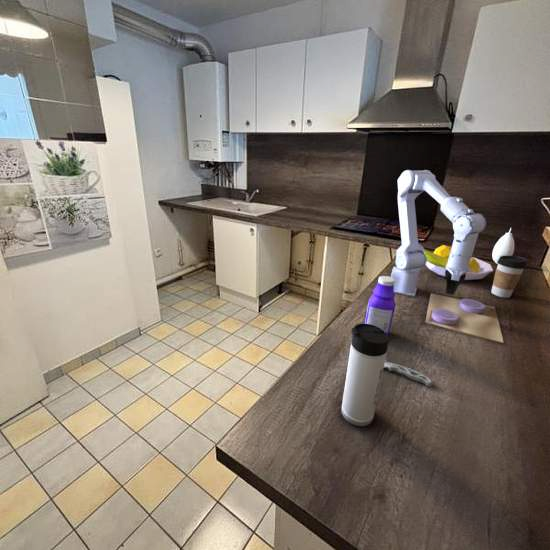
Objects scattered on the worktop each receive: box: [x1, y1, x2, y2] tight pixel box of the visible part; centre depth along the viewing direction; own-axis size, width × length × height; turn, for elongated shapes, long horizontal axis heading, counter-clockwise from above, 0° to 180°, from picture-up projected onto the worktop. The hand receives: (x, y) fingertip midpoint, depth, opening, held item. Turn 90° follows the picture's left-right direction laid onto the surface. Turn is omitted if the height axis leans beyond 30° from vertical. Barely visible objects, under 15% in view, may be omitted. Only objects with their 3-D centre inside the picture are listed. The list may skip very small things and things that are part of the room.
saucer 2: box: [459, 298, 486, 314], centre depth 99 cm, size 7×7×2 cm
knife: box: [384, 359, 433, 387], centre depth 70 cm, size 2×18×3 cm
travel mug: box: [340, 323, 390, 427], centre depth 55 cm, size 6×7×20 cm
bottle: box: [364, 275, 397, 336], centre depth 82 cm, size 7×6×17 cm
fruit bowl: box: [424, 244, 494, 281], centre depth 127 cm, size 28×27×11 cm
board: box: [424, 292, 505, 344], centre depth 96 cm, size 20×24×1 cm
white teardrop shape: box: [491, 227, 515, 265], centre depth 138 cm, size 8×8×18 cm
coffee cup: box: [490, 255, 528, 299], centre depth 108 cm, size 8×8×15 cm
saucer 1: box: [431, 308, 458, 325], centre depth 92 cm, size 7×7×2 cm
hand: (449, 293), depth 95 cm, fingers closed
